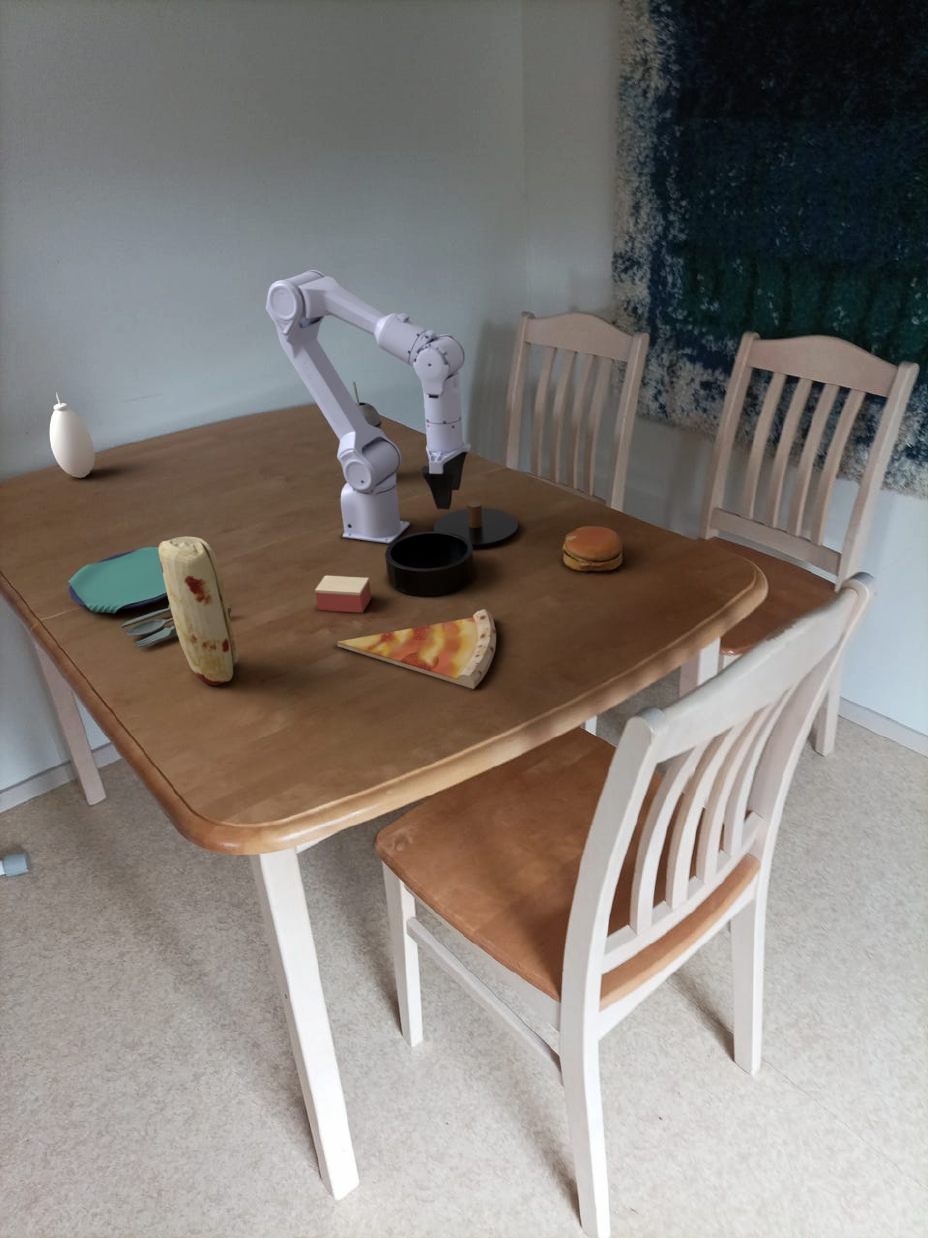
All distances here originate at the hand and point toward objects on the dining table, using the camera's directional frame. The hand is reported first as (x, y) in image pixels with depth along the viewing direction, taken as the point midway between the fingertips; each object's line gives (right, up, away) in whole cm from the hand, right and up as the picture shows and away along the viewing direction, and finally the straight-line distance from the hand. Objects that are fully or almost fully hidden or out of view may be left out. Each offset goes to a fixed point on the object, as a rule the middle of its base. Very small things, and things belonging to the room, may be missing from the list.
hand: (448, 498), depth 143 cm
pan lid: (+5, -4, +8) cm, 10 cm away
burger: (+23, -11, -3) cm, 26 cm away
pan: (-3, -13, -5) cm, 14 cm away
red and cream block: (-15, -18, -11) cm, 26 cm away
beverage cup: (-16, +8, +31) cm, 36 cm away
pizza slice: (-2, -23, -21) cm, 31 cm away
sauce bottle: (-78, +10, +41) cm, 89 cm away
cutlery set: (-47, -17, -6) cm, 50 cm away
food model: (-31, -27, -25) cm, 49 cm away
